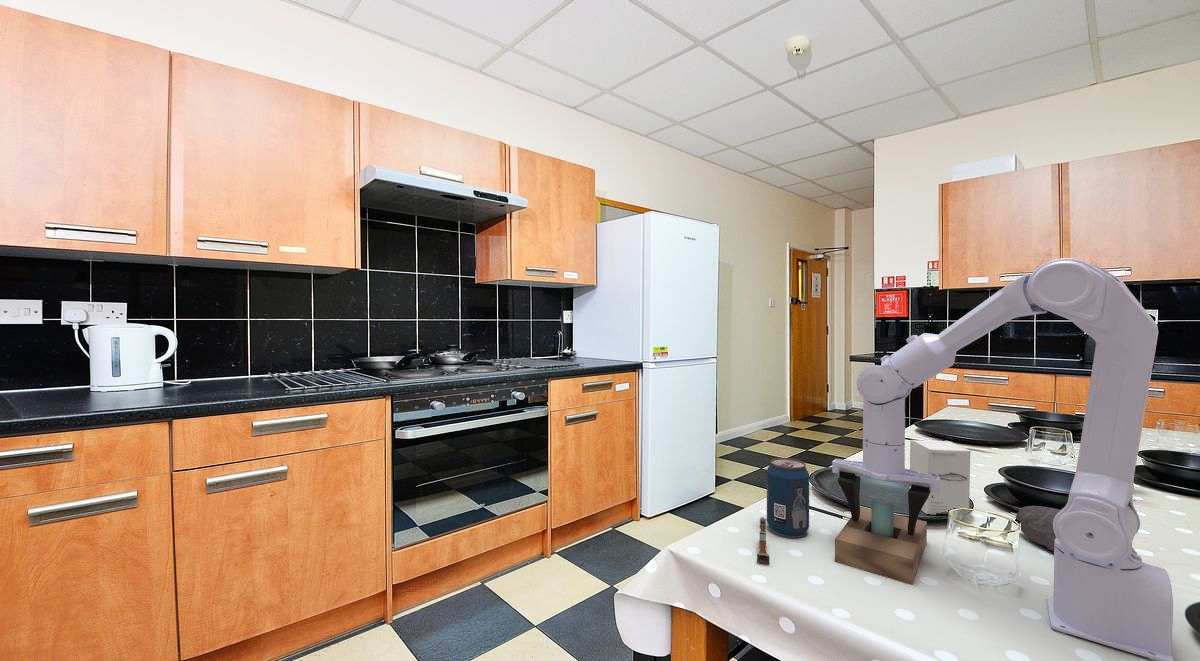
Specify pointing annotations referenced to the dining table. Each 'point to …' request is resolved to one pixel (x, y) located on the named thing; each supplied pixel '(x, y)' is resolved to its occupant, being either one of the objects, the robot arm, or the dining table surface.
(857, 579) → the dining table surface
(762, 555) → the brown long banded part
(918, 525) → the hole block
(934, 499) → the supplement box
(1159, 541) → the dining table surface
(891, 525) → the peg
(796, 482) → the soda can
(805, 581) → the dining table surface
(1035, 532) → the perforated stone tool
